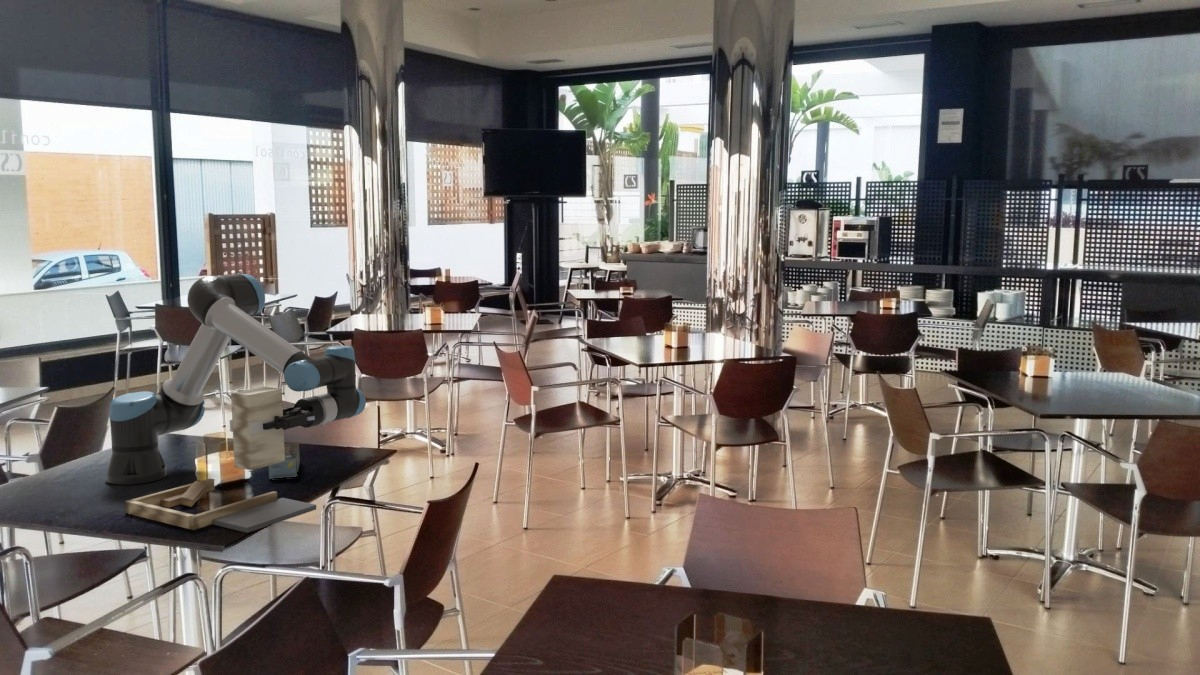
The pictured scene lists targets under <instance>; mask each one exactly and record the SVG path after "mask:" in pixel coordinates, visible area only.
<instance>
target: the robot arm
mask: <svg viewBox="0 0 1200 675" xmlns="http://www.w3.org/2000/svg"><path fill="white" fill-rule="evenodd" d="M265 304H266V294H265V292H264V288H263V285H262V283H261V282H260V281H259V279H257V277H255V276H253V275H251V274H247V273H234V274H222V275H207V276H204V277H201V278H199V279H197V280H196V281H194V283H193V284H192V285H191V287H190V288H189V289H188V293H187V306H188V309H189V311H190V312H191V314H192V315H193V316H194V317H195V319H196V320H197V321H198V322H200V323H201V325H200V326H199V327H198V330H197V332H196V333H195V335H194V337H193V340H192V341H191V343H190V345H189V347H188V349H187V351H186V353H185V355H184V356H183V358H182V359H181V362H180V364H179V366H178V367H177V370H176V372H175V373H174V375H173V377H172V378H168V379H166V380H165V381H163V384H162V385H161V387H160V389H159V390H158V393H154V392H152V391H146V390H143V391H136V392H135V391H134V392H129V393H128V392H127V393H125V394H122V395H119V396H116V397H115V398H114V399H112V400H111V402H110V404H109V416H108V418H109V423H110V437H111V438H110V439H111V440H110V441H111V456H110V459H109V462H108V466H107V470H106V472H105V475H106V476H105V477H106V482H107V483H108V484H113V485H119V486H121V485H123V486H125V485H126V486H127V485H141V484H147V483H151V482H152V483H153V482H155V481H159V480H161V479H163V478H165V477H167V475H168V474H167V473H168V472H167V465H166V462H165V461H164V459H163V458H164V457H163V456H162V453H161V452H160V448H159V436H162V435H167V434H171V433H174V432H180V431H185V430H187V429H189V428H192V427H194V426H196V425H198V423H200V421H201V420H202V419H203V417H204V414H205V411H206V407H205V406H204V405H205V398H204V397H205V396H204V393H203V389H204V388H205V386H206V383H208V380H209V378H210V376H211V375H212V373H213V371H214V369H215V368H216V366H217V364H218V362H219V361H220V358H221V357H222V355H223V353H224V351H225V350H226V347H227V346H228V344H229V342H230V340H233V341H234V342H236V343H237V344H238V345H240V346H241V347H243V348H244V349H246V350H247V351H249V353H251V354H253V355H254V356H256V357H257V358H258V359H261V360H262V361H263V362H265V363H266V364H268V365H269V366H270V367H271V368H273V369H275V370H276V371H277V372H279V373H281V374H282V375H283V379H284V382H285V384H286V385H287V387H288V388H289V389H290V390H291V391H294V392H308V391H312V390H315V389H319V388H322V387H326V393H322V394H317V395H314V396H309V397H304V398H299V399H298V400H297V401H296V402H295V403H294V406H288V407H286V408H283V416H282V417H279V416H274V419H275V421H273V418H270V419H265V420H261V421H256V422H252V423H249V434H250V435H253V434H257V433H261V432H266V431H270V430H274V428H275V429H277V430H278V429H281V428H282V429H283V430H284V431H286V430H289V429H293V428H296V427H302V428H304V429H305V428H306V429H307V428H311V427H316V426H318V425H319V426H320V425H321V426H326V423H331V422H335V421H340V420H344V419H350V418H353V417H357V416H358V415H360V414H362V413H363V411H364V410H365V408H366V403H367V402H366V401H367V400H366V397H365V396H364V392H363V391H362V390H361V389H359V388H357V380H356V378H357V376H356V362H357V361H356V356H355V350H354V347H352V346H350V345H331V346H328V347H327V348H325V349H324V350H325V352H324V356H319V357H315V358H314V357H312V356H310V355H309V354H306V353H305V352H303V351H302V350H301V349H299V348H298V347H296V346H294V344H292V343H290V342H289V341H287V340H286V339H285V338H283V337H282V336H280V335H279V334H278V333H276V332H274V331H273V330H272V329H270V328H269V327H267V326H265V324H262V323H261V322H260V321H258V320H257V319H255V318H254V317H253V316H255V315H257V314H259V313H261V311H262V310H263V309H264V307H265ZM229 431H230V432H231V433H233V423H232V419H231V420H229Z"/></svg>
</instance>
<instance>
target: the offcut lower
mask: <svg viewBox="0 0 1200 675" xmlns="http://www.w3.org/2000/svg"><path fill="white" fill-rule="evenodd" d="M184 493H185V492H184ZM184 493H180V494H177V495H173V496H170V497H166V498H162V499H160V506H159V507H163V508H168V509H171V508H174V507H176V506H179V505H181V504H180V500H181V496H182V495H183V494H184ZM207 493H208V492H207V491H205V492H204V493H203V494H202V495H201V496H200V498H199V499H198V500H201V499H205V498H207V497H208V494H207Z"/></svg>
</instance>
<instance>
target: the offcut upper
mask: <svg viewBox="0 0 1200 675" xmlns="http://www.w3.org/2000/svg"><path fill="white" fill-rule="evenodd" d="M192 483H193V484H192V485H191V486H190V487H189V489H188V490H187V491H186V492H185V493H184V494H183V495H182V496H181V500H180V505H183V506H186V507H190V508H192V507H193V506H194V505H195V503H197V501H198V500H200V499H199V498H200V496H201V495H202V494H203V493H204V492H205V491H206V486H207V484H206V483H202V482H199V481H198V480H195V481H194V482H192Z"/></svg>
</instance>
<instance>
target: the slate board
mask: <svg viewBox="0 0 1200 675" xmlns="http://www.w3.org/2000/svg"><path fill="white" fill-rule="evenodd" d="M316 510H317V504H315V503H310V502H305V501H300V500H296V499H292V498H286V497H279V498H277V500H274V501H270V502H267V503H264V504H261V505H257V506H254V507H251V508H248V509H245V510H241V511H238V512H235V513H232V514H229V515H225V516H222V517H219V518H216V519H213V524H212V525H213V526H216V527H217V526H218V527H221V528H227V529H228V530H229V529H230V530H235V531H238V532H242V533H247V534H248V533H251V532H255V531H257V530H260V529H262V528H266V527H268V526H272V525H275V524H278V523H280V522H284V521H286V520H289V519H293V518H295V517H299V516H302V515H304V514H307V513H310V512H313V511H316Z"/></svg>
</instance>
